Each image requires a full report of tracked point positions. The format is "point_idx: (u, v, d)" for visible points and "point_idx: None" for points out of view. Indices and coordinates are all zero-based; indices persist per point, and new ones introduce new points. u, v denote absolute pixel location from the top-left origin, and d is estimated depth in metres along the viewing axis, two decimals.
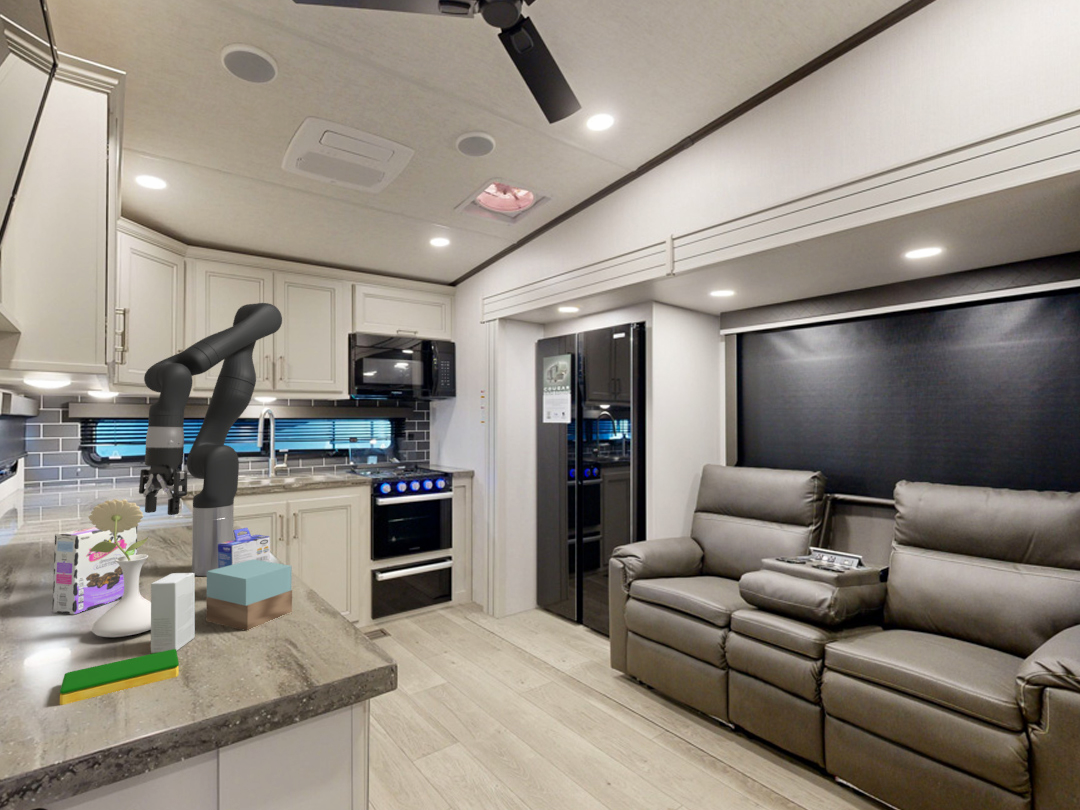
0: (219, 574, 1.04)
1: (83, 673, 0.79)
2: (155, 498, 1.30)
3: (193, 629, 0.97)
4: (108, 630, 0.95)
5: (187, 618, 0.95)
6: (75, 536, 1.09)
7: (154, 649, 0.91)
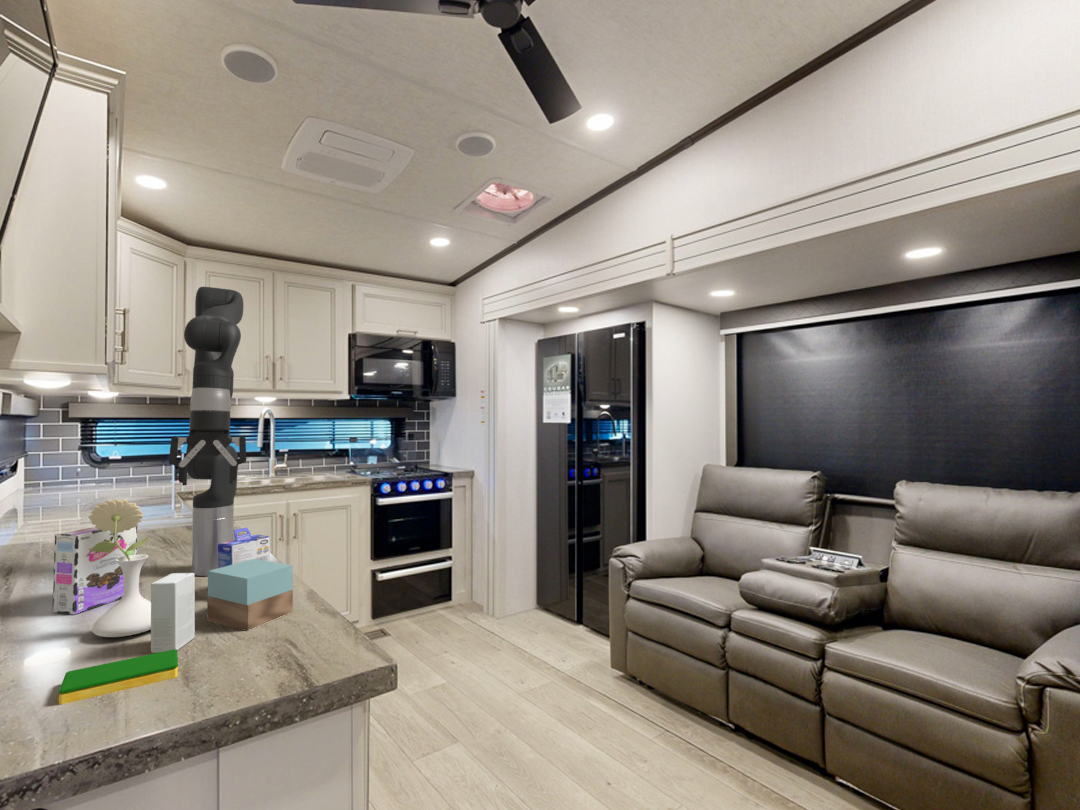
0: (220, 574, 1.04)
1: (83, 673, 0.80)
2: None
3: (193, 629, 0.97)
4: (108, 630, 0.95)
5: (187, 618, 0.95)
6: (75, 536, 1.09)
7: (154, 649, 0.91)
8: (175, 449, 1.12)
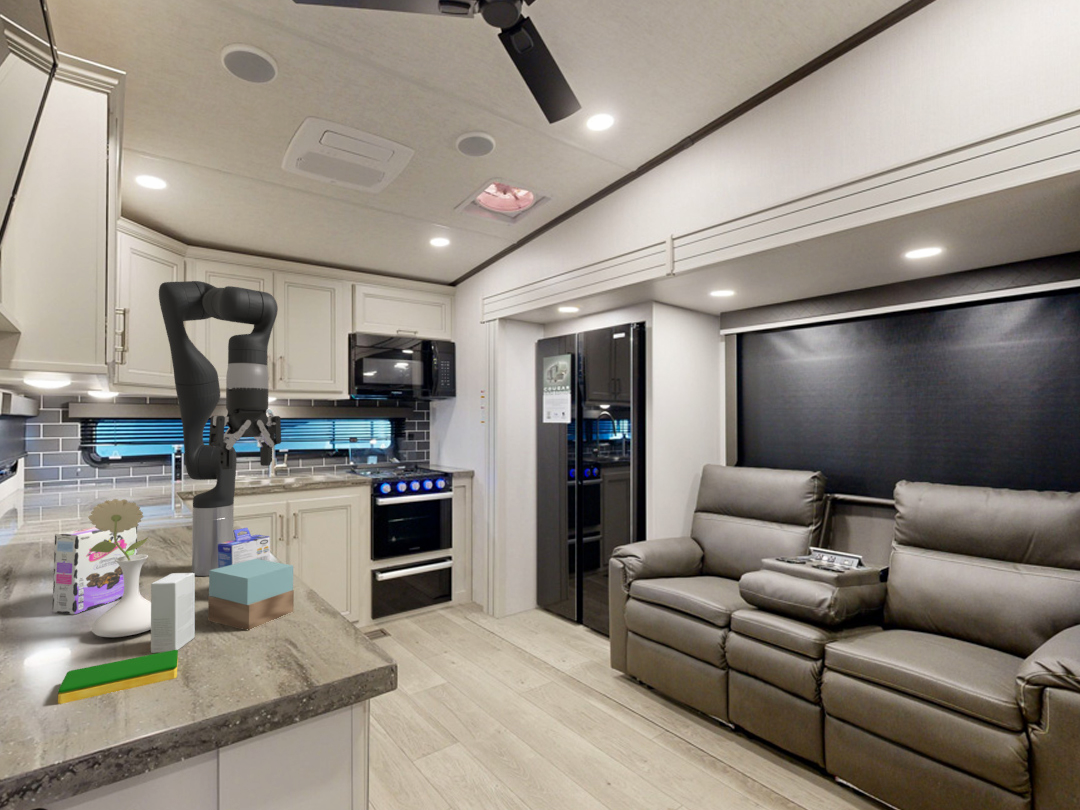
0: (221, 573, 1.05)
1: (84, 672, 0.80)
2: None
3: (193, 629, 0.97)
4: (108, 630, 0.95)
5: (187, 618, 0.95)
6: (75, 536, 1.09)
7: (154, 649, 0.91)
8: (222, 430, 1.01)
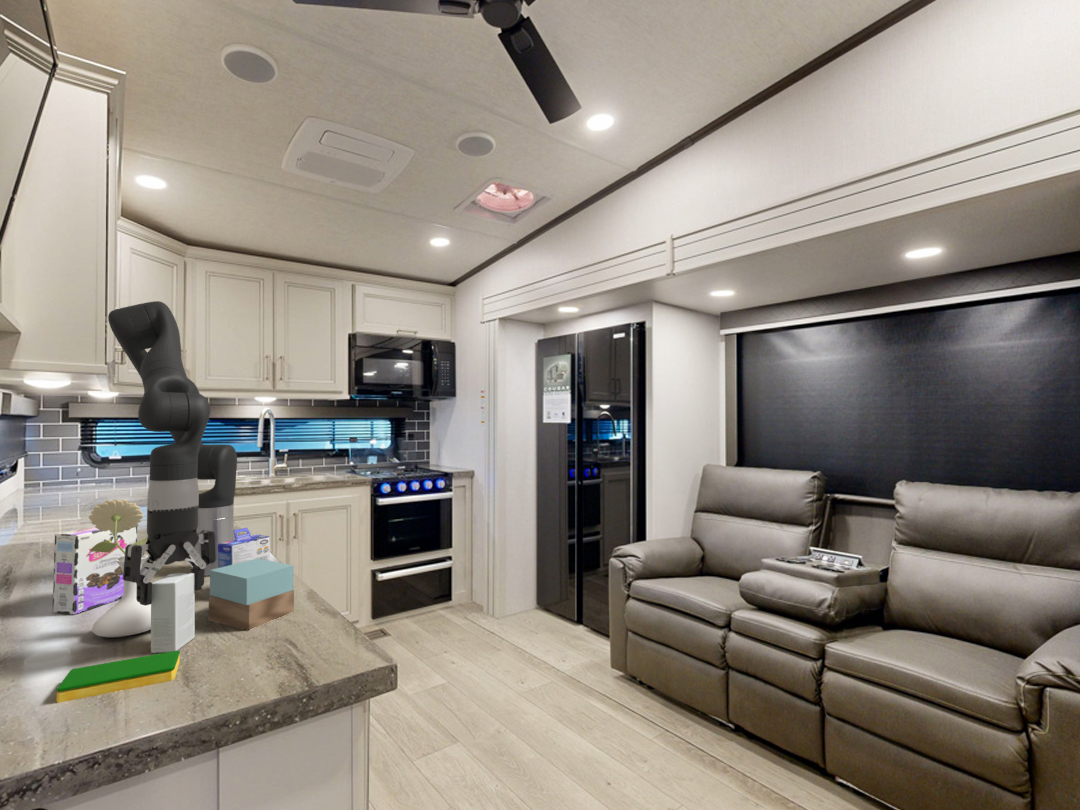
0: (221, 573, 1.05)
1: (85, 671, 0.80)
2: None
3: (193, 629, 0.97)
4: (108, 630, 0.95)
5: (187, 618, 0.95)
6: (75, 536, 1.09)
7: (154, 649, 0.91)
8: (139, 562, 0.88)
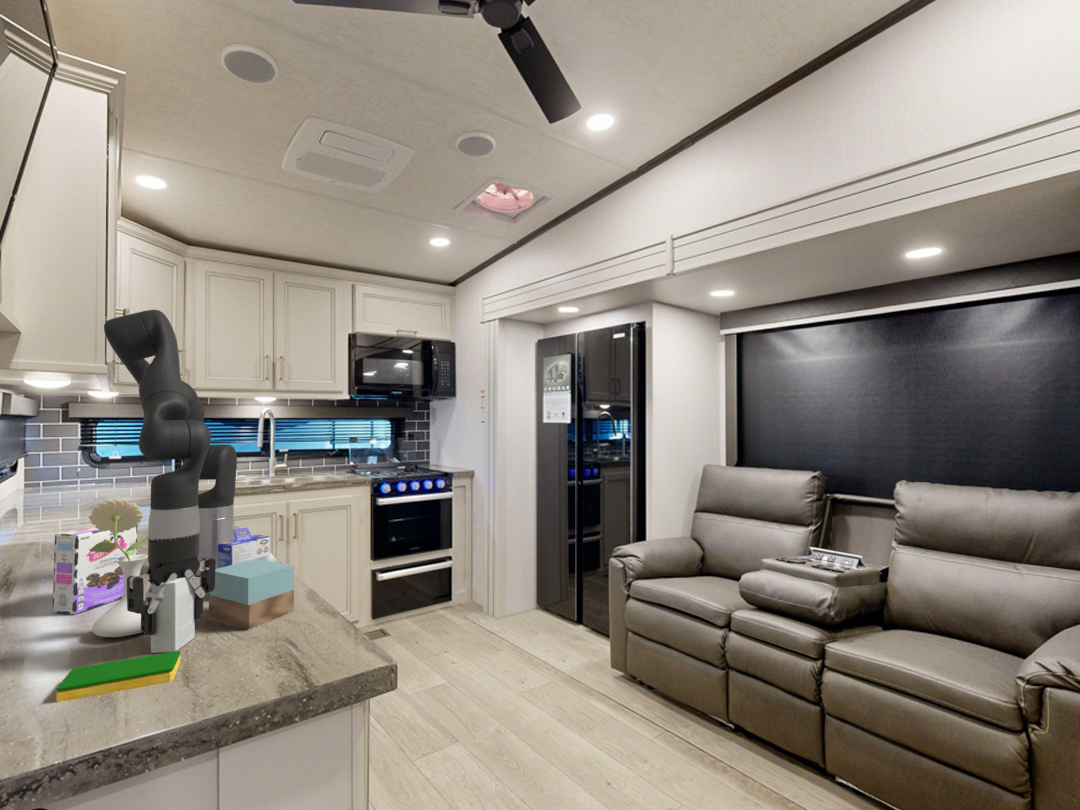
0: (222, 573, 1.05)
1: (86, 670, 0.80)
2: None
3: (193, 629, 0.97)
4: (108, 630, 0.95)
5: (187, 618, 0.95)
6: (75, 536, 1.09)
7: (153, 649, 0.91)
8: (141, 593, 0.88)
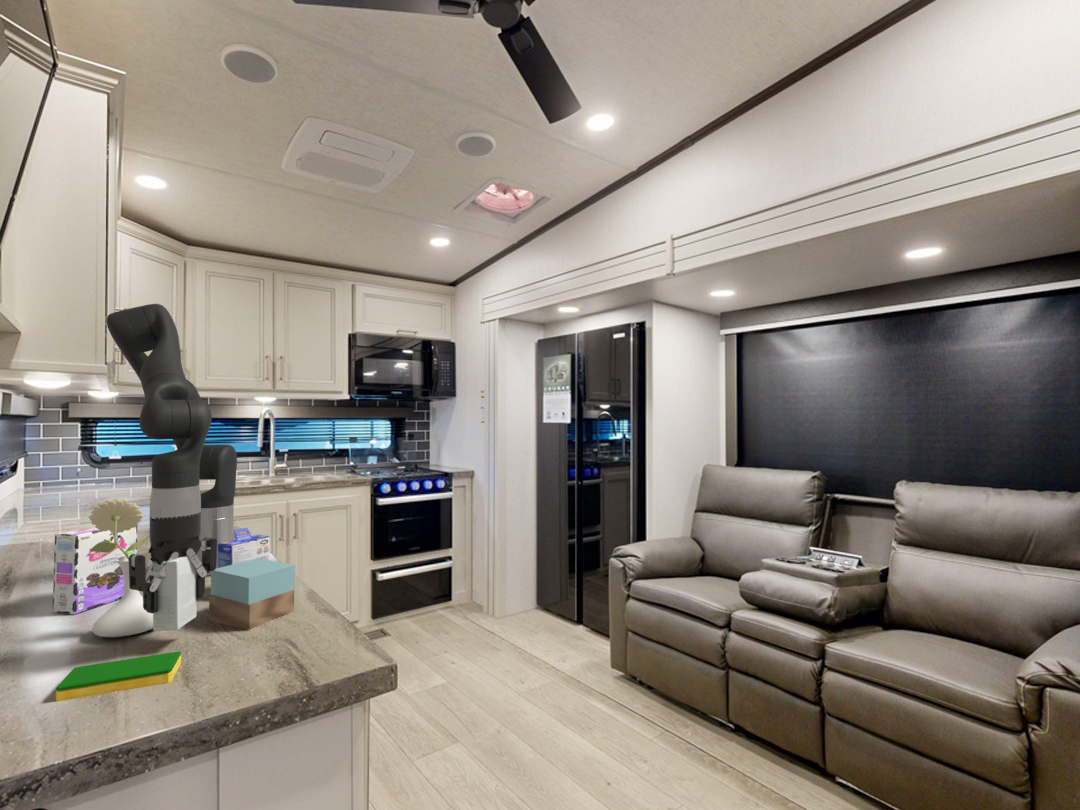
0: (223, 573, 1.05)
1: (87, 670, 0.81)
2: None
3: (195, 608, 0.97)
4: (108, 630, 0.95)
5: (189, 597, 0.95)
6: (75, 536, 1.09)
7: (156, 627, 0.91)
8: (143, 571, 0.89)
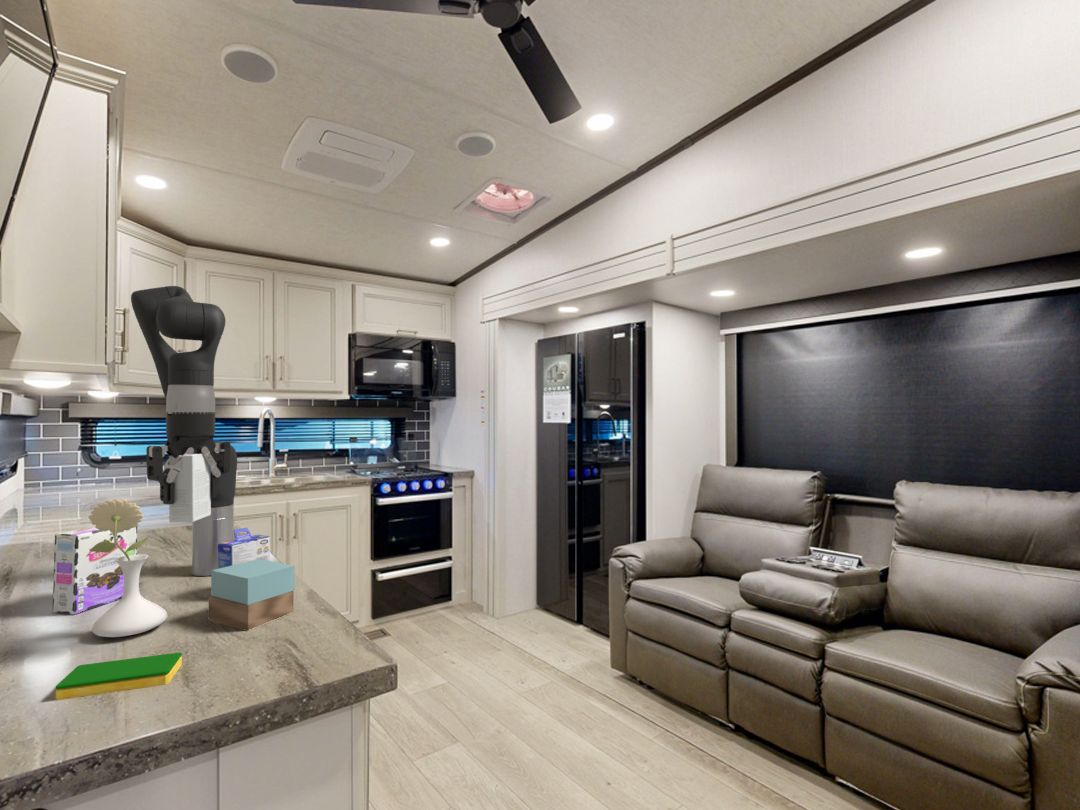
0: (223, 573, 1.05)
1: (89, 669, 0.81)
2: None
3: (209, 506, 1.00)
4: (108, 630, 0.95)
5: (203, 493, 0.98)
6: (75, 536, 1.09)
7: (172, 519, 0.94)
8: (160, 461, 0.92)
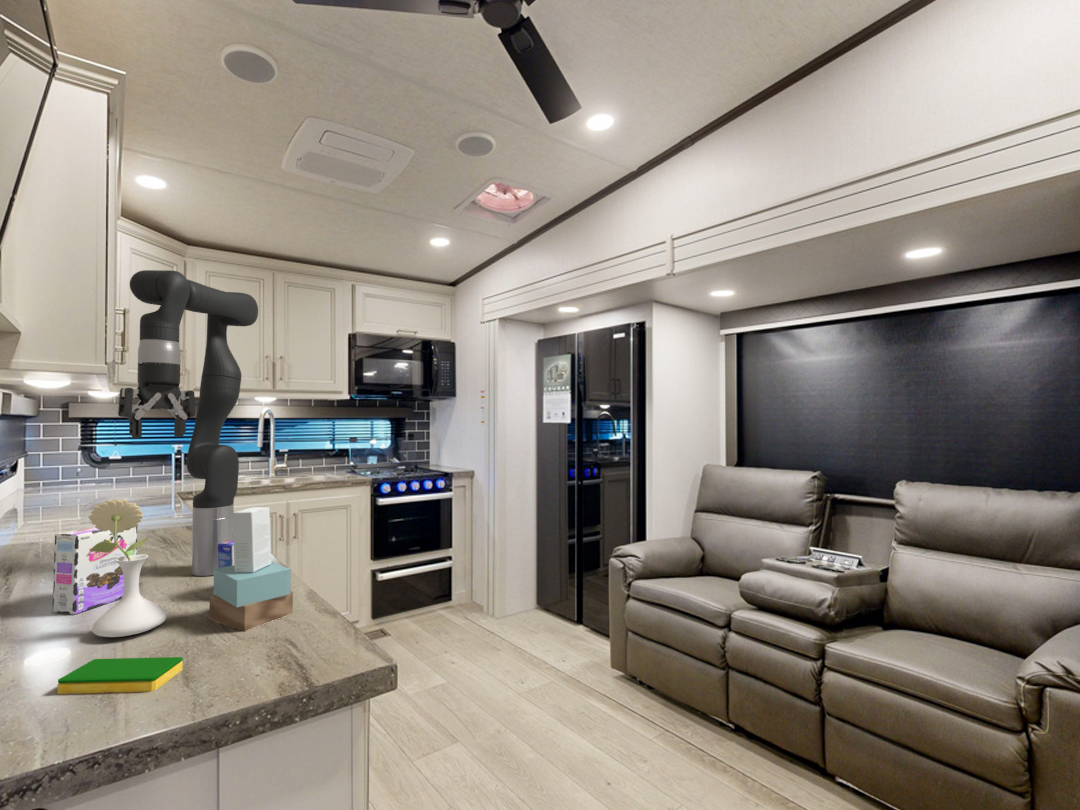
0: (221, 573, 1.05)
1: (97, 664, 0.82)
2: None
3: (269, 556, 1.10)
4: (108, 630, 0.95)
5: (263, 545, 1.08)
6: (75, 536, 1.09)
7: (236, 569, 1.05)
8: (131, 401, 1.09)
